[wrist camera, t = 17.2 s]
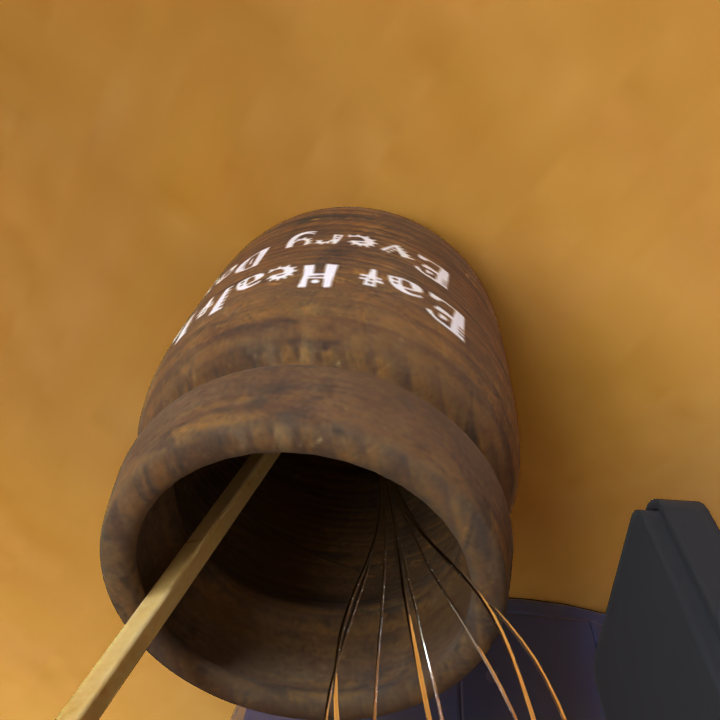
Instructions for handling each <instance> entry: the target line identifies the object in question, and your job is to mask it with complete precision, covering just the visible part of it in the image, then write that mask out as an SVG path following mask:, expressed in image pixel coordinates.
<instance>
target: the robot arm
mask: <svg viewBox="0 0 720 720" xmlns="http://www.w3.org/2000/svg"><path fill="white" fill-rule="evenodd" d="M594 673H595V681H596V686H597V689H598V693H599V697H600V701H601V705H602V709H603V713H604V716H605V720H720V530H719V528H718V527H717V525H716V523H715V521H714V520H713V518H712V516H711V514H710V512H709V511H708V509H707V508H706V507H705V505H704V504H702V503H701V502H696V501H680V500H663V499H653V500H651V501H650V502H649V503H648V505H647V507H646V510H635V511H634V512H633V514H632V516H631V519H630V523H629V527H628V531H627V534H626V538H625V542H624V546H623V550H622V553H621V557H620V561H619V565H618V568H617V572H616V576H615V580H614V584H613V587H612V591H611V595H610V599H609V603H608V606H607V610H606V614H605V618H604V622H603V625H602V629H601V633H600V637H599V640H598V644H597V648H596V652H595V658H594Z"/></svg>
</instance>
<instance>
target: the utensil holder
mask: <svg viewBox="0 0 720 720" xmlns="http://www.w3.org/2000/svg"><path fill="white" fill-rule="evenodd" d="M519 468H520V441H519V430H518V422H517V414H516V407H515V401H514V395H513V390H512V385H511V380H510V375H509V370H508V365H507V360H506V356H505V351H504V346H503V342H502V337H501V333H500V329H499V326H498V322H497V319H496V316H495V313H494V310H493V307H492V305H491V302H490V300H489V298H488V295H487V293H486V292H485V290H484V288H483V286H482V284H481V282H480V281H479V279H478V277H477V276H476V274H475V273H474V271H473V270H472V268H471V267H470V266H469V265H468V263H467V262H466V261H465V260H464V259H463V257H462V256H461V255H460V254H459V253H458V252H457V251H456V250H455V249H454V248H453V247H451V246H450V245H449V244H448V243H447V242H446V241H444V240H443V239H442V238H440V237H439V236H438V235H436V234H435V233H433V232H432V231H430V230H429V229H427V228H425V227H423V226H422V225H420V224H418V223H416V222H414V221H411V220H409V219H407V218H404V217H401V216H399V215H396V214H392V213H389V212H385V211H381V210H375V209H369V208H360V207H337V208H328V209H321V210H316V211H312V212H308V213H304V214H301V215H298V216H295V217H293V218H290V219H288V220H285V221H283V222H281V223H279V224H277V225H275V226H274V227H272V228H270V229H269V230H267V231H266V232H264V233H263V234H261V235H260V236H259V237H257V238H256V239H255V240H253V241H252V242H251V243H249V244H248V245H247V246H246V247H245V248H244V249H243V250H242V251H241V252H240V253H239V254H238V255H237V256H236V257H235V258H234V259H233V260H232V261H231V262H230V264H229V265H228V266H227V267H226V268H225V269H224V271H223V272H222V273H221V275H220V276H219V277H218V279H217V280H216V281H215V282H214V284H213V285H212V286H211V288H210V289H209V290H208V292H207V293H206V295H205V296H204V297H203V299H202V300H201V301H200V303H199V304H198V306H197V307H196V308H195V310H194V311H193V313H192V314H191V315H190V317H189V318H188V320H187V321H186V323H185V324H184V326H183V327H182V329H181V330H180V332H179V333H178V335H177V336H176V338H175V339H174V341H173V343H172V344H171V346H170V347H169V349H168V350H167V352H166V354H165V356H164V357H163V359H162V361H161V363H160V365H159V367H158V369H157V371H156V373H155V375H154V377H153V379H152V381H151V384H150V386H149V389H148V392H147V394H146V398H145V401H144V405H143V408H142V412H141V416H140V421H139V427H138V438H137V439H136V440H135V442H134V444H133V445H132V447H131V448H130V450H129V452H128V454H127V456H126V458H125V460H124V462H123V464H122V466H121V468H120V471H119V473H118V476H117V479H116V482H115V484H114V487H113V490H112V493H111V496H110V500H109V503H108V506H107V510H106V513H105V517H104V521H103V525H102V530H101V538H100V561H101V569H102V574H103V579H104V582H105V585H106V589H107V591H108V594H109V596H110V599H111V601H112V603H113V605H114V607H115V609H116V611H117V613H118V615H119V616H120V618H121V619H122V621H123V623H124V624H125V626H124V627H123V628H122V630H121V631H120V632H119V634H118V635H117V637H116V638H115V639H114V641H113V642H112V643H111V645H110V646H109V647H108V649H107V650H106V651H105V653H104V654H103V656H102V657H101V658H100V660H99V661H98V662H97V664H96V665H95V666H94V668H93V669H92V670H91V672H90V673H89V675H88V676H87V677H86V679H85V680H84V681H83V683H82V684H81V685H80V687H79V688H78V689H77V691H76V692H75V693H74V695H73V696H72V698H71V699H70V700H69V702H68V703H67V704H66V706H65V707H64V708H63V710H62V711H61V712H60V714H59V715H58V717H57V718H56V719H55V720H99V718H100V717H101V715H102V714H103V712H104V711H105V709H106V708H107V707H108V705H109V704H110V702H111V701H112V699H113V698H114V696H115V695H116V693H117V692H118V690H119V689H120V688H121V686H122V685H123V683H124V682H125V680H126V679H127V677H128V676H129V674H130V673H131V671H132V670H133V669H134V667H135V666H136V664H137V663H138V661H139V660H140V658H141V657H142V655H143V654H144V652H145V651H146V650H147V651H148V652H149V653H150V654H151V655H152V656H153V657H154V658H155V659H157V660H158V661H159V662H160V663H161V664H163V665H164V666H165V667H166V668H168V669H169V670H170V671H172V672H173V673H175V674H176V675H178V676H179V677H181V678H182V679H184V680H185V681H187V682H189V683H190V684H192V685H194V686H196V687H197V688H199V689H201V690H203V691H205V692H207V693H209V694H211V695H213V696H216V697H218V698H220V699H223V700H225V701H228V702H230V703H233V704H236V705H238V706H241V707H244V708H248V709H251V710H255V711H258V712H262V713H266V714H271V715H276V716H281V717H287V718H294V719H302V720H357V719H365V718H372V717H373V720H377V716H383V715H387V714H391V713H395V712H398V711H402V710H405V709H408V708H411V707H413V706H416V705H419V704H421V703H423V704H424V709H425V714H426V718H427V720H432V715H431V710H430V706H429V701H428V700H430V699H432V698H434V697H435V700H436V704H437V708H438V712H439V717H440V720H444V717H443V712H442V708H441V704H440V700H439V696H438V695H439V694H441V693H443V692H445V691H446V690H448V689H449V688H451V687H452V686H454V685H455V684H457V683H458V682H459V681H460V680H462V679H463V678H464V677H465V676H466V675H468V674H469V673H470V672H471V671H472V670H473V669H474V668H475V667H476V666H477V664H478V663H479V662H480V661H481V660H482V659H483V661H484V663H485V664H486V666H487V668H488V670H489V671H490V673H491V675H492V677H493V679H494V681H495V683H496V684H497V686H498V688H499V690H500V692H501V694H502V696H503V698H504V700H505V702H506V704H507V706H508V708H509V710H510V712H511V714H512V716H513V718H514V720H519V719H518V717H517V715H516V713H515V711H514V709H513V707H512V705H511V703H510V701H509V699H508V697H507V695H506V693H505V691H504V689H503V687H502V685H501V683H500V682H499V680H498V678H497V676H496V674H495V672H494V671H493V669H492V667H491V665H490V664H489V662H488V660H487V658H486V657H485V655H486V653H487V652H488V651H489V649H490V648H491V646H492V644H493V642H494V641H495V639H496V637H497V635H498V633H499V634H500V636H501V638H502V640H503V643H504V645H505V647H506V650H507V652H508V654H509V657H510V660H511V662H512V665H513V668H514V671H515V673H516V676H517V679H518V681H519V684H520V687H521V690H522V693H523V696H524V699H525V703H526V706H527V709H528V712H529V715H530V718H531V720H537V719H536V716H535V713H534V710H533V707H532V704H531V701H530V698H529V695H528V692H527V689H526V686H525V683H524V680H523V677H522V675H521V672H520V669H519V667H518V664H517V661H516V659H515V656H514V654H513V651H512V649H511V647H510V644H509V642H508V640H507V638H506V635H505V633H504V631H503V629H502V627H501V626H502V623H503V622H504V624H505V625H506V626H507V627H508V628H509V630H510V631H511V632H512V633H513V635H514V636H515V637H516V638H517V640H518V641H519V642H520V643H521V645H522V646H523V648H524V649H525V651H526V652H527V653H528V655H529V656H530V658H531V659H532V661H533V662H534V664H535V666H536V667H537V669H538V671H539V672H540V674H541V676H542V678H543V679H544V681H545V683H546V685H547V687H548V689H549V691H550V693H551V696H552V698H553V700H554V702H555V704H556V706H557V708H558V711H559V713H560V716H561V718H562V720H567V718H566V715H565V713H564V710H563V708H562V706H561V703H560V701H559V699H558V697H557V695H556V693H555V691H554V689H553V687H552V685H551V683H550V681H549V679H548V677H547V676H546V674H545V672H544V671H543V669H542V667H541V665H540V664H539V662H538V660H537V659H536V657H535V656H534V654H533V653H532V652H531V650H530V649H529V647H528V646H527V645H526V643H525V642H524V640H523V639H522V638H521V637H520V635H519V634H518V633H517V632H516V630H515V629H514V628H513V627H512V626H511V624H510V623H509V622H508V621H507V620H506V619H505V617H504V616H505V613H506V608H507V603H508V597H509V589H510V581H511V571H512V559H513V533H512V525H511V518H510V514H511V511H512V508H513V505H514V501H515V497H516V491H517V485H518V478H519Z"/></svg>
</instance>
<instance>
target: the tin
mask: <svg viewBox="0 0 720 720" xmlns="http://www.w3.org/2000/svg"><path fill="white" fill-rule="evenodd" d="M504 617H505V619H506V620H507V621H508V622H509V623H510V624H511V626H512V627H513V628H514V629H515V630H516V632H517V633H518V634H519V635H520V637H521V638H522V639H523V640H524V642H525V643H526V645H527V646H528V647H529V649H530V650H531V652H532V653H533V654H534V656H535V657H536V659H537V660H538V662H539V664H540V665H541V667H542V669H543V671H544V672H545V674H546V676H547V677H548V679H549V681H550V683H551V685H552V687H553V689H554V691H555V693H556V695H557V697H558V699H559V701H560V703H561V706H562V708H563V710H564V713H565V715H566V718H567V720H605V716H604V713H603V709H602V705H601V701H600V697H599V693H598V689H597V686H596V681H595V673H594V658H595V652H596V648H597V644H598V640H599V637H600V633H601V629H602V625H603V622H604V618H605V614H604V613H600V612H596V611H591V610H587V609H582V608H578V607H574V606H569V605H565V604H558V603H550V602H542V601H535V600H527V599H515V598H508V603H507V608H506V613H505V616H504ZM501 627H502V629H503V631H504V633H505V635H506V638H507V640H508V642H509V644H510V647H511V649H512V651H513V654H514V656H515V659H516V661H517V664H518V667H519V669H520V672H521V675H522V677H523V680H524V683H525V686H526V689H527V692H528V695H529V698H530V701H531V704H532V707H533V710H534V713H535V716H536V719H537V720H562V718H561V716H560V713H559V711H558V708H557V706H556V704H555V702H554V700H553V698H552V696H551V693H550V691H549V689H548V687H547V685H546V683H545V681H544V679H543V678H542V676H541V674H540V672H539V671H538V669H537V667H536V666H535V664H534V662H533V661H532V659H531V658H530V656H529V655H528V653H527V652H526V651H525V649H524V648H523V646H522V645H521V643H520V642H519V641H518V640H517V638H516V637H515V636H514V635H513V633H512V632H511V631H510V630H509V628H508V627H507V626H506V625H505V624H504V622H503V623H502V626H501ZM485 657H486V658H487V660H488V662H489V664H490V665H491V667H492V669H493V671H494V672H495V674H496V676H497V678H498V680H499V682H500V683H501V685H502V687H503V689H504V691H505V693H506V695H507V697H508V699H509V701H510V703H511V705H512V707H513V709H514V711H515V713H516V715H517V717H518V719H519V720H531V718H530V715H529V712H528V709H527V706H526V703H525V699H524V696H523V693H522V690H521V687H520V684H519V681H518V679H517V676H516V673H515V671H514V668H513V665H512V662H511V660H510V657H509V654H508V652H507V650H506V647H505V645H504V643H503V640H502V638H501V636H500V634H499V633H498V635H497V637H496V639H495V641H494V642H493V644H492V646H491V648H490V649H489V651H488V652H487V653H486V655H485ZM438 696H439V700H440V704H441V708H442V712H443V717H444V720H514V718H513V716H512V714H511V712H510V710H509V708H508V706H507V704H506V702H505V700H504V698H503V696H502V694H501V692H500V690H499V688H498V686H497V684H496V683H495V681H494V679H493V677H492V675H491V673H490V671H489V670H488V668H487V666H486V664H485V663H484V661H483V659H482V660H481V661H480V662H479V663H478V664H477V666H476V667H475V668H474V669H473V670H472V671H471V672H470V673H469V674H468V675H466V676H465V677H464V678H463V679H462V680H460V681H459V682H458V683H457V684H455V685H454V686H452V687H451V688H449V689H448V690H446V691H445V692H443V693H441V694H439V695H438ZM428 701H429V706H430V710H431V715H432V720H440V717H439V712H438V708H437V704H436V700H435V697H434V698H432V699H430V700H428ZM230 720H302V719H294V718H287V717H281V716H276V715H271V714H266V713H262V712H258V711H255V710H251V709H248V708H244V707H241V706H238V705H236V708H235V710H234V712H233V714H232V717H231V719H230ZM357 720H373V717H372V718H365V719H357ZM377 720H427V718H426V714H425V709H424V704H423V703H421V704H419V705H416V706H413V707H411V708H408V709H405V710H402V711H398V712H395V713H391V714H387V715H383V716H377Z"/></svg>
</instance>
